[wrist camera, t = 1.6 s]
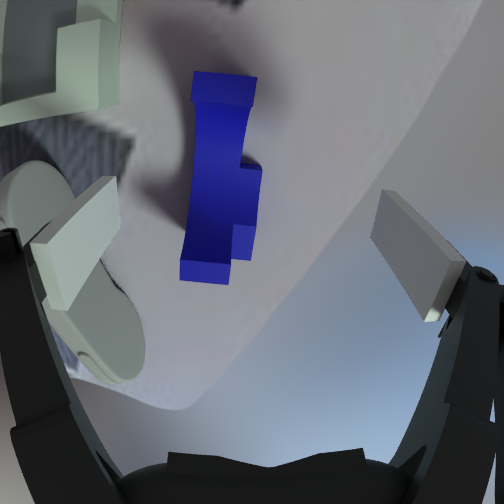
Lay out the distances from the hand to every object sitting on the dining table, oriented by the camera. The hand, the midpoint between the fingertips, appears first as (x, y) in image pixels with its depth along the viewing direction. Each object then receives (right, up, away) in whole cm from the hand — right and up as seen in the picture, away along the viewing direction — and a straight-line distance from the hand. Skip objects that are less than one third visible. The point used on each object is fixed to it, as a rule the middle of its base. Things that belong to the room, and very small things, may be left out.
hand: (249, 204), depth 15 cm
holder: (-15, +15, -1) cm, 22 cm away
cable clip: (-2, +4, +7) cm, 8 cm away
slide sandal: (-13, -2, +10) cm, 17 cm away
